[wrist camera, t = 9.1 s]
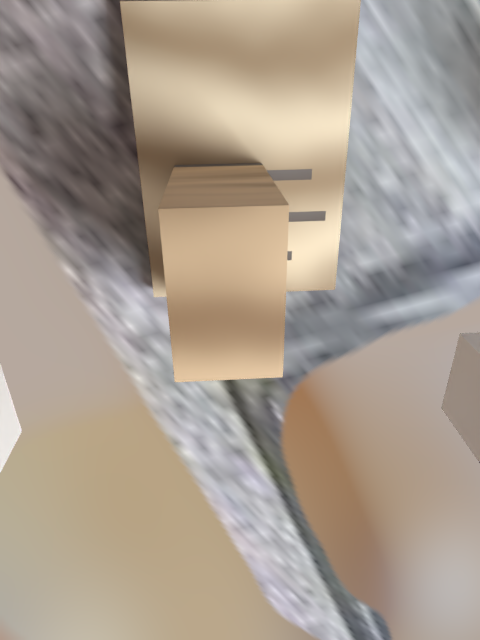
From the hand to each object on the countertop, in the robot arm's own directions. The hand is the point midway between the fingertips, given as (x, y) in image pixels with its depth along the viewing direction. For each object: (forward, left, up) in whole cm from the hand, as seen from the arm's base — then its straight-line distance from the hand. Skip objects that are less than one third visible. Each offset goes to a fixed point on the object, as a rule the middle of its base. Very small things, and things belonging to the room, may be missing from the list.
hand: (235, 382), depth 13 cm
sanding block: (0, 0, -16) cm, 16 cm away
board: (-3, +1, -18) cm, 18 cm away
